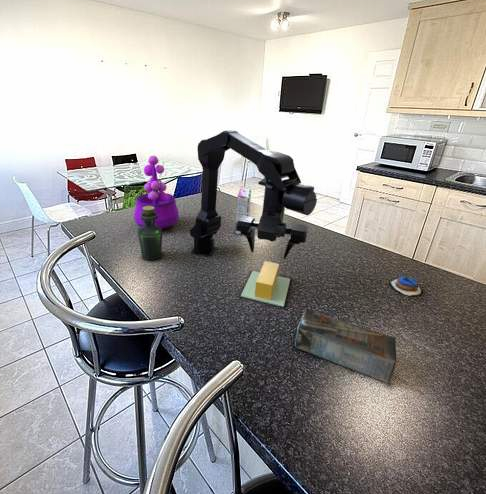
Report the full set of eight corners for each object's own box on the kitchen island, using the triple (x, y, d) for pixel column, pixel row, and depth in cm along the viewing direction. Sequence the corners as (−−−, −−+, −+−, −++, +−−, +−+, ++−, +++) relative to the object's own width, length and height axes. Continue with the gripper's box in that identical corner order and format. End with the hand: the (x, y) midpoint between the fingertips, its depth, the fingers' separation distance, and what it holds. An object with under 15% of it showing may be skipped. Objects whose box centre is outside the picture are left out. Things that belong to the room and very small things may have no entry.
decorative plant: (126, 229, 122) (118, 157, 110) (150, 214, 138) (146, 150, 125) (165, 238, 115) (161, 162, 103) (186, 221, 131) (185, 153, 119)
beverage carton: (301, 326, 72) (305, 304, 69) (390, 358, 64) (398, 335, 61) (293, 348, 66) (297, 325, 63) (390, 386, 57) (400, 362, 55)
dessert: (405, 295, 83) (402, 274, 84) (387, 295, 89) (385, 275, 91) (429, 295, 84) (426, 274, 85) (410, 295, 91) (407, 275, 92)
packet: (263, 274, 92) (264, 261, 90) (277, 277, 91) (279, 263, 89) (254, 296, 82) (256, 281, 80) (270, 300, 80) (272, 285, 78)
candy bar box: (237, 223, 130) (239, 188, 123) (249, 224, 129) (251, 189, 123) (234, 234, 120) (236, 195, 113) (246, 235, 119) (249, 197, 113)
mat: (240, 296, 82) (240, 295, 82) (252, 271, 94) (252, 270, 94) (283, 307, 78) (283, 306, 78) (290, 279, 90) (290, 278, 90)
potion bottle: (165, 260, 100) (163, 211, 92) (141, 263, 97) (136, 213, 90) (161, 249, 107) (159, 202, 99) (139, 252, 104) (134, 204, 97)
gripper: (231, 208, 73) (228, 262, 80) (308, 220, 67) (298, 277, 74) (243, 196, 83) (239, 244, 89) (311, 205, 77) (302, 257, 83)
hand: (268, 255), depth 83 cm, fingers open, 9 cm apart
